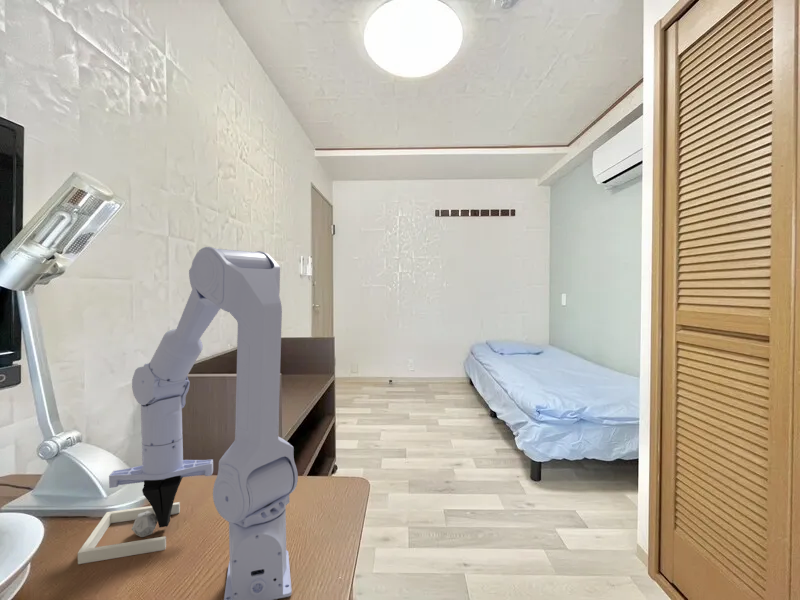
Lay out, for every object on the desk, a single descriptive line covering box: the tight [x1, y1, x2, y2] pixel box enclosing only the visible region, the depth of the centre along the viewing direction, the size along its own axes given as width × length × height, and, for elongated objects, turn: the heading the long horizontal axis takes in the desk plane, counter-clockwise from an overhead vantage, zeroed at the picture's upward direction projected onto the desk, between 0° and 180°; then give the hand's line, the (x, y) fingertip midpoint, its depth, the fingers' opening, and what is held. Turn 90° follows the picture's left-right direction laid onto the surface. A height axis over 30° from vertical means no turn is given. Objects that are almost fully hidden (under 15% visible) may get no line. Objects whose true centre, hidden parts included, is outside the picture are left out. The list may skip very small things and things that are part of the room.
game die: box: [131, 511, 158, 538], centre depth 69 cm, size 4×4×3 cm
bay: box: [77, 501, 181, 565], centre depth 68 cm, size 12×11×2 cm
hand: (164, 523), depth 70 cm, fingers closed
